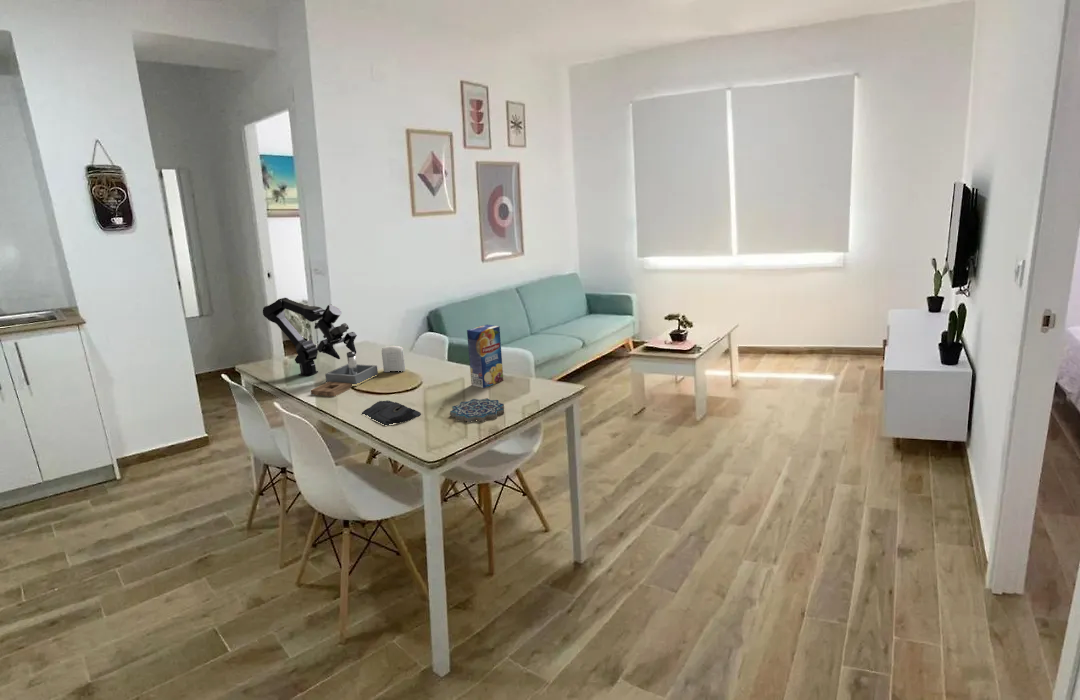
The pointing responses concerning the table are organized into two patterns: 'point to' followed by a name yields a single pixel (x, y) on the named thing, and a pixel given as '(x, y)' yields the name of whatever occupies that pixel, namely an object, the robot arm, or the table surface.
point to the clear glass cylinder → (352, 363)
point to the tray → (345, 377)
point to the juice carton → (485, 355)
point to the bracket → (331, 388)
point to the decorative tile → (477, 410)
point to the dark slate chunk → (390, 412)
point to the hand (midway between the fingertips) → (347, 356)
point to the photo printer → (393, 358)
